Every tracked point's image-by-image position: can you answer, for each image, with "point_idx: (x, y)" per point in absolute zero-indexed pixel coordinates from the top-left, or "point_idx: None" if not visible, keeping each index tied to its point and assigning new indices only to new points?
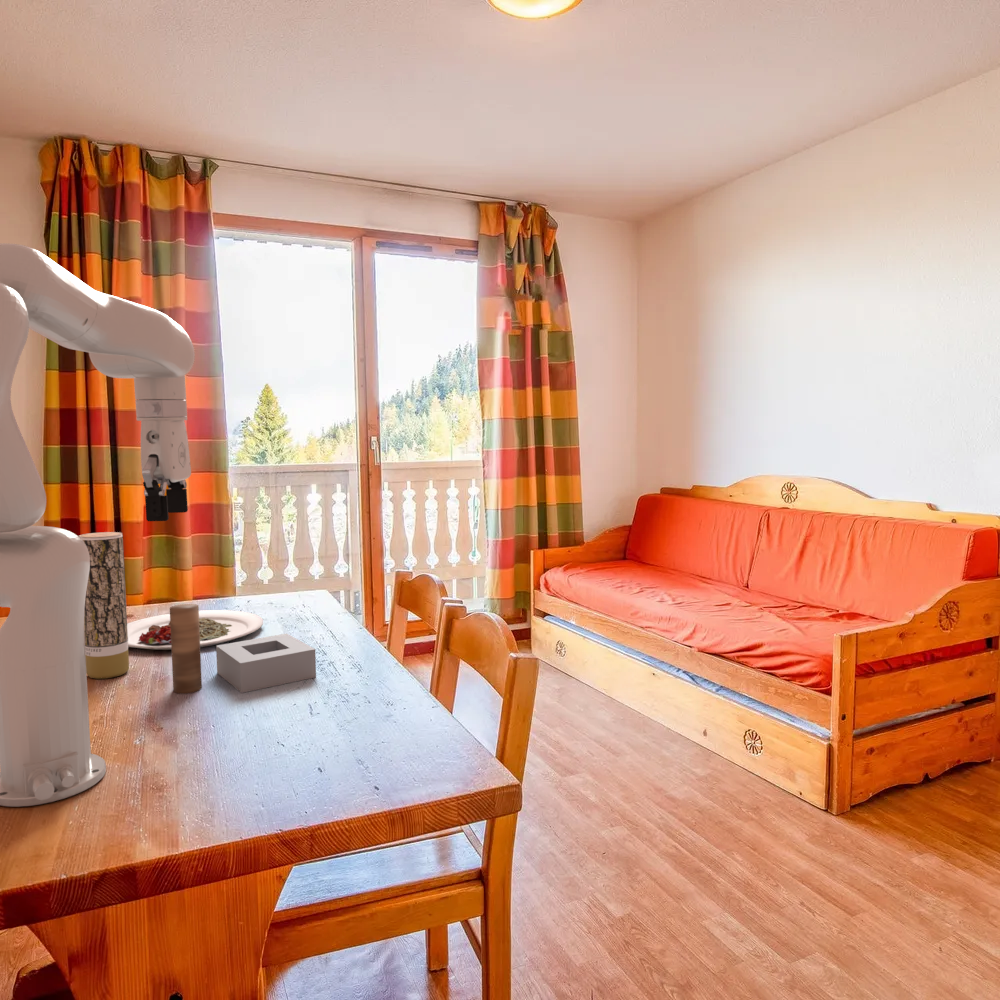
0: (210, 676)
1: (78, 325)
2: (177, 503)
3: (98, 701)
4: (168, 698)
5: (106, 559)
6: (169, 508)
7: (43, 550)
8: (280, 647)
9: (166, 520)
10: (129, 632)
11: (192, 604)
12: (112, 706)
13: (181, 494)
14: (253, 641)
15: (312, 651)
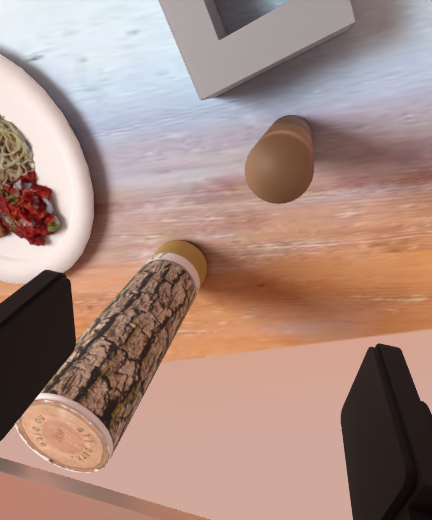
0: (229, 108)
1: None
2: (45, 338)
3: (303, 258)
4: (327, 163)
5: (129, 383)
6: (65, 353)
7: None
8: None
9: (395, 348)
10: (5, 262)
11: (256, 152)
12: (334, 238)
13: (2, 356)
14: (184, 13)
15: None
